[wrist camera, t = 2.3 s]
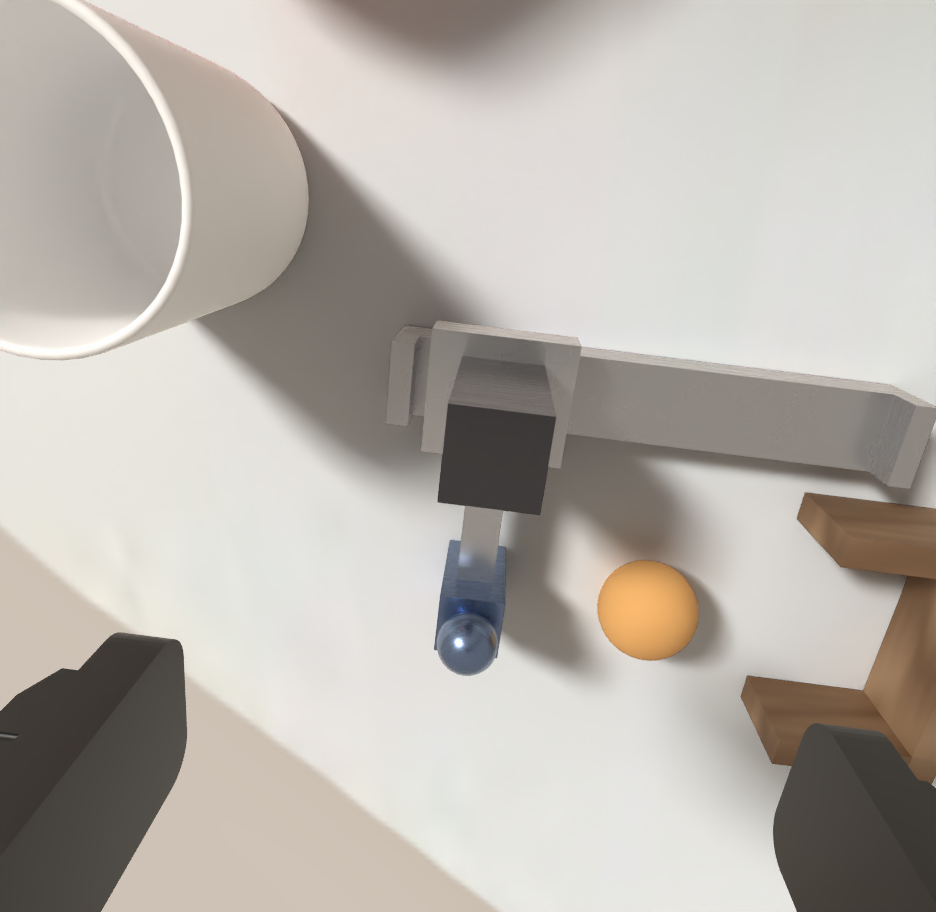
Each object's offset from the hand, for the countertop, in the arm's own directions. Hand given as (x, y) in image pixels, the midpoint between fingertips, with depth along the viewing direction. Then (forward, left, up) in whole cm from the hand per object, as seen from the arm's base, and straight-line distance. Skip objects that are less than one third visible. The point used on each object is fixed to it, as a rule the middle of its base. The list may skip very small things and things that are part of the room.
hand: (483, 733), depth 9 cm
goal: (+8, +16, -19) cm, 26 cm away
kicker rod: (+4, 0, -19) cm, 19 cm away
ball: (+8, +7, -17) cm, 21 cm away
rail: (0, +6, -19) cm, 20 cm away
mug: (-6, -13, -20) cm, 24 cm away
